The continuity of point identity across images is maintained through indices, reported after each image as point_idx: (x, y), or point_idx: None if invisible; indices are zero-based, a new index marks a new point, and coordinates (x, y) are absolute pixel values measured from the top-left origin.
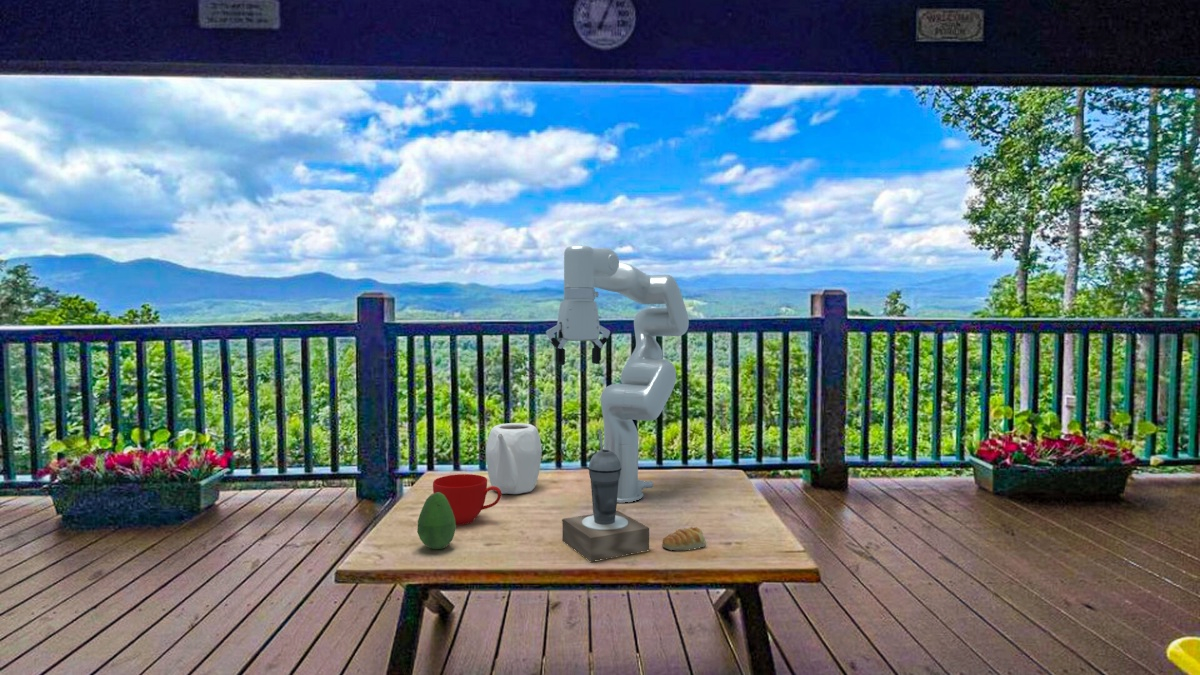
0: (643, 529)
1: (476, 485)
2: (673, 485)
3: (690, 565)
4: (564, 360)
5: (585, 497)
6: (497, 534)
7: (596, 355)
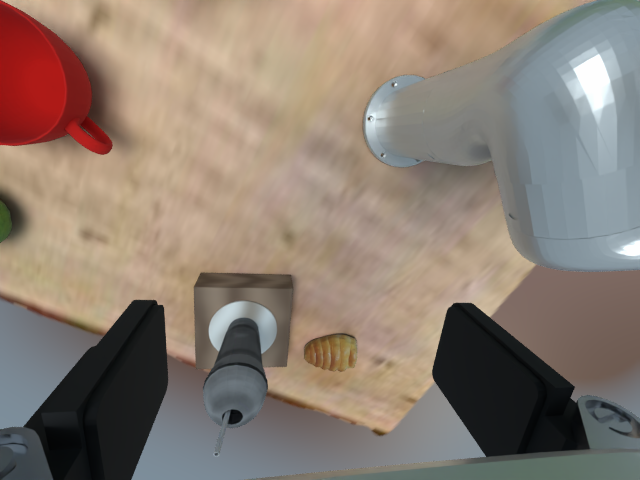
0: (277, 366)
1: (29, 142)
2: None
3: (299, 392)
4: (153, 411)
5: (348, 84)
6: (112, 199)
7: (468, 412)
